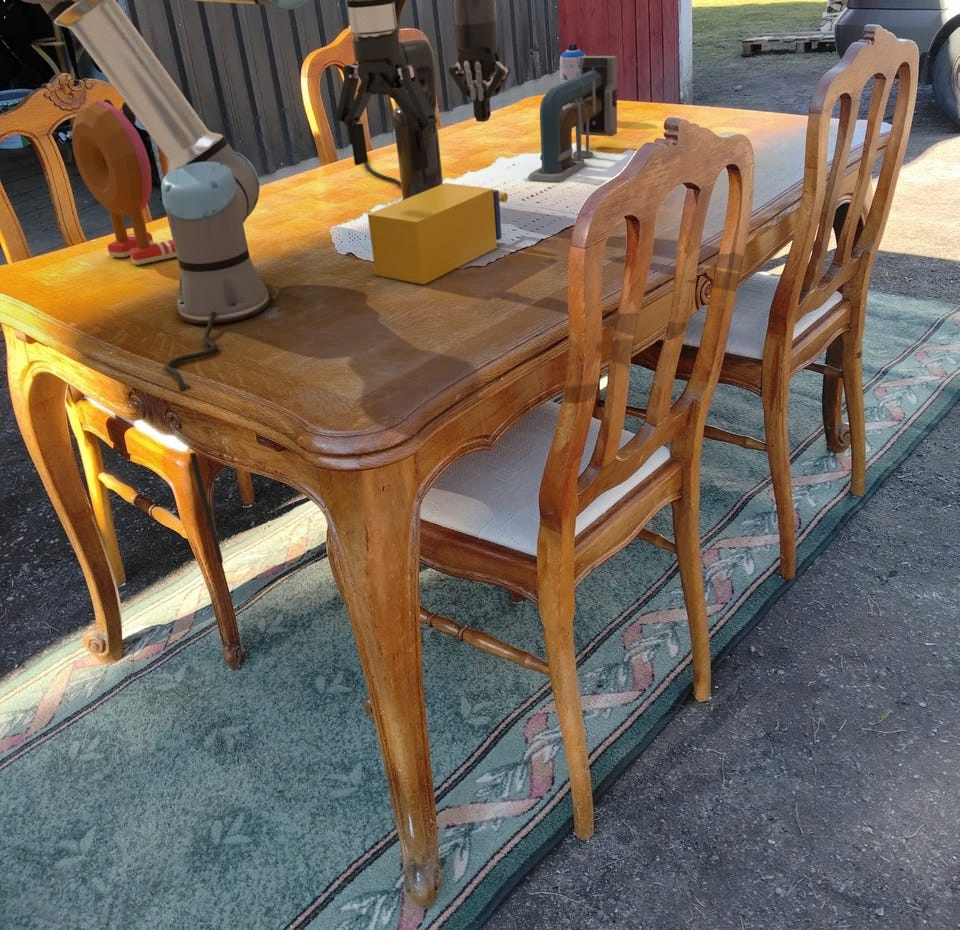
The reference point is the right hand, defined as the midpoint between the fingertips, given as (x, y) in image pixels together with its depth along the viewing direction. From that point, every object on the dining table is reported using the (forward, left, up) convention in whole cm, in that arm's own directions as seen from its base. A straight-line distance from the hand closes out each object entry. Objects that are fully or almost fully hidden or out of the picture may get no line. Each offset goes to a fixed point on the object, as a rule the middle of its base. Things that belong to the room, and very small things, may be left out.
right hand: (482, 120), depth 180 cm
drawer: (+8, -7, -21) cm, 23 cm away
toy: (-11, -70, -22) cm, 74 cm away
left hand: (+15, -18, -3) cm, 23 cm away
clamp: (-50, +26, -22) cm, 61 cm away
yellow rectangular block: (+12, -11, -22) cm, 27 cm away
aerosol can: (-99, +36, -22) cm, 108 cm away
